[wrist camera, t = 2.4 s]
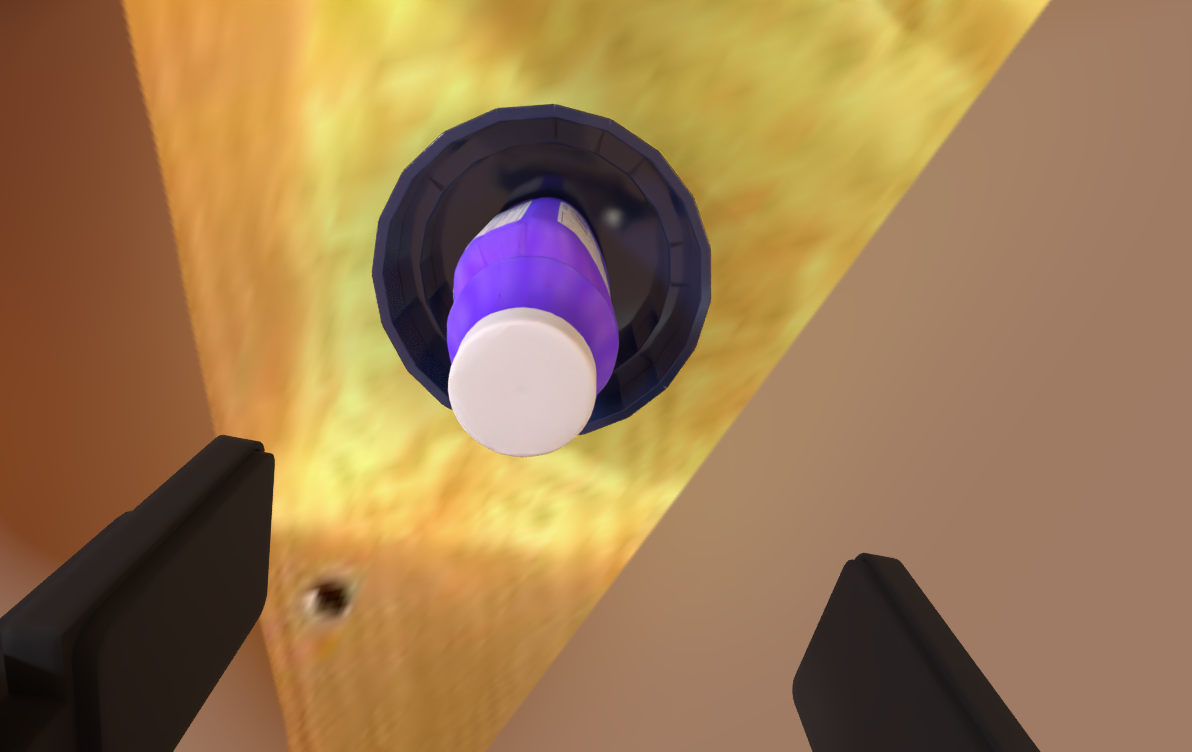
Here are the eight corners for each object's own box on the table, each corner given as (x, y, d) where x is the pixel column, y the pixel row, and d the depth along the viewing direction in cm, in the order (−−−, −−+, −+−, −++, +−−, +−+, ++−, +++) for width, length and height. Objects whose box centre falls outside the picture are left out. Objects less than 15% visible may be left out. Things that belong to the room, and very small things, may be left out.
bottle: (468, 217, 33) (363, 313, 16) (573, 175, 32) (571, 233, 16) (525, 344, 35) (482, 535, 19) (623, 307, 35) (664, 473, 18)
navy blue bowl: (386, 360, 36) (355, 401, 31) (427, 71, 31) (397, 61, 25) (647, 417, 38) (658, 464, 32) (728, 152, 32) (757, 158, 27)
